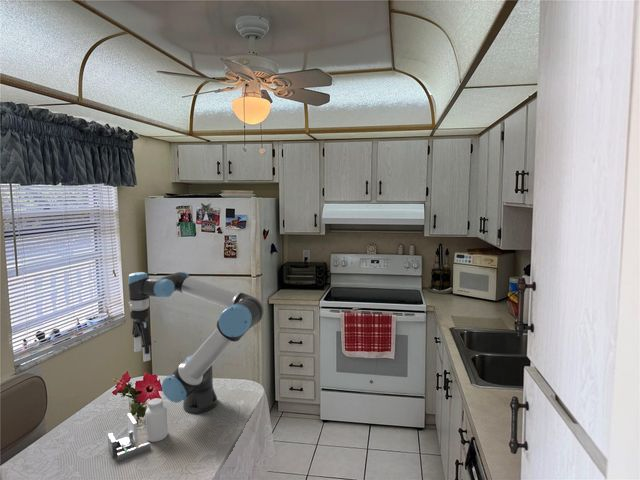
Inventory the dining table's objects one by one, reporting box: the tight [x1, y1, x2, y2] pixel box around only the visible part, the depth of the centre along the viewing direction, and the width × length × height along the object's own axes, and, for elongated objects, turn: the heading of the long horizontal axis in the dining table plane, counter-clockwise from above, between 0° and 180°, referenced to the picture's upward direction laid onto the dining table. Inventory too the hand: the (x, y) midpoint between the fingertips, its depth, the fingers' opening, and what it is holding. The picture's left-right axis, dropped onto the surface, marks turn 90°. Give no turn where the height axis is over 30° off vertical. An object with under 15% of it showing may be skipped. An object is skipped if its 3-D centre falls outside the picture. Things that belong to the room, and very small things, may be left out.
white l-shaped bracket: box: [119, 412, 139, 452], centre depth 157 cm, size 5×12×10 cm, turn 38°
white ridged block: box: [107, 432, 152, 462], centre depth 157 cm, size 12×10×6 cm
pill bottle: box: [144, 397, 169, 443], centre depth 165 cm, size 8×8×15 cm
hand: (142, 355), depth 180 cm, fingers open, 13 cm apart
